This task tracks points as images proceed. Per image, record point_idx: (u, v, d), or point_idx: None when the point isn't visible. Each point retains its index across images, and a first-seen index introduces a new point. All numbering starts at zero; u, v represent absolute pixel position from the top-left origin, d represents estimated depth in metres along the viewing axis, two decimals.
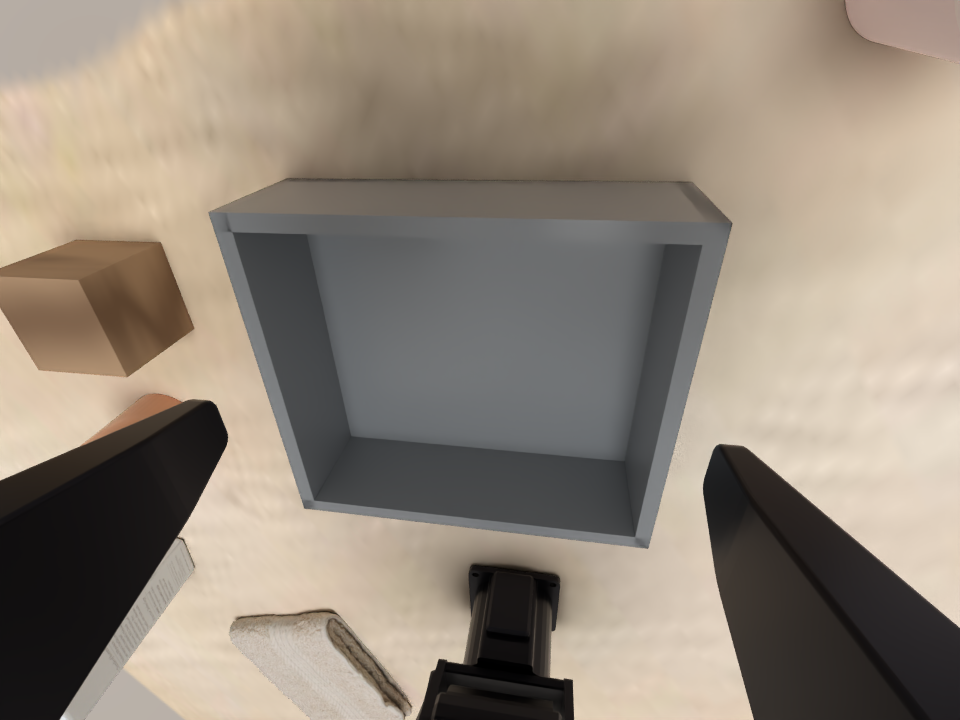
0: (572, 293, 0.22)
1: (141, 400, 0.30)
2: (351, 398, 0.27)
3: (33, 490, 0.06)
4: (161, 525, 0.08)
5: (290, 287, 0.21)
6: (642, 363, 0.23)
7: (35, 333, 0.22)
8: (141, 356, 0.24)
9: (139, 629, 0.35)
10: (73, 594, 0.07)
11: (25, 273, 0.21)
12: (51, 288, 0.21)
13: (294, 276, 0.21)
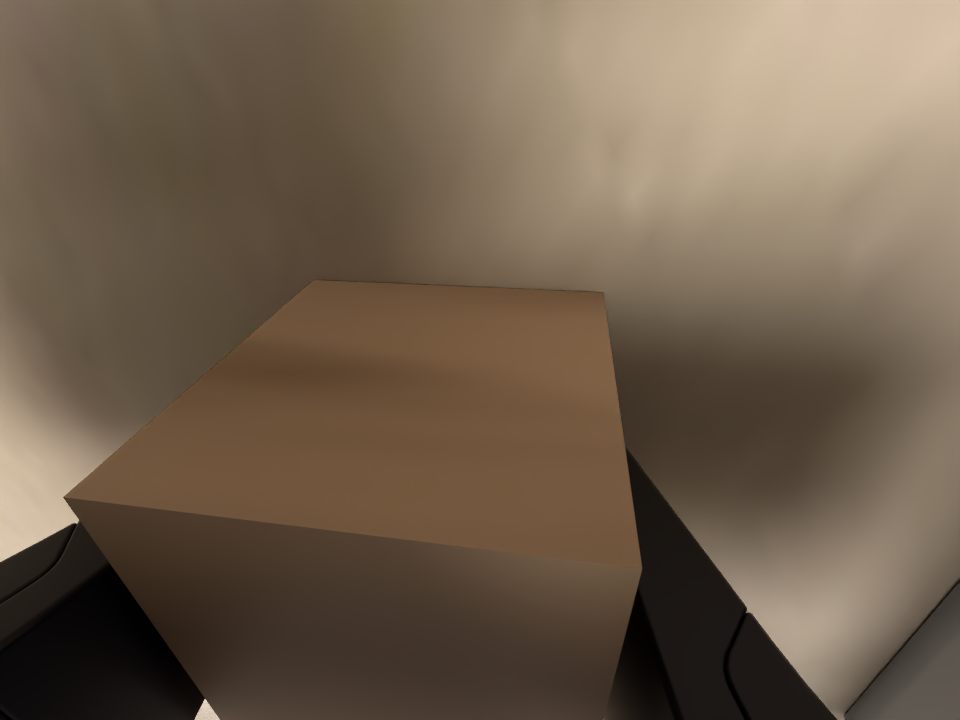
0: None
1: None
2: None
3: None
4: None
5: None
6: None
7: (261, 673, 0.06)
8: None
9: None
10: None
11: (275, 480, 0.04)
12: (432, 576, 0.04)
13: None
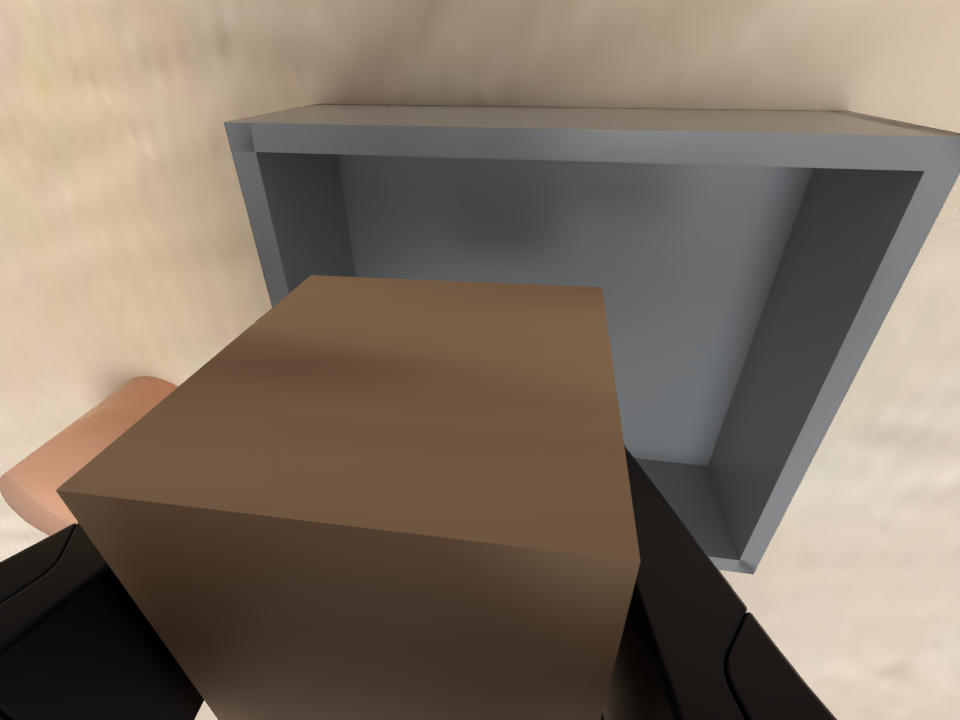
0: (672, 257, 0.17)
1: (129, 383, 0.25)
2: None
3: None
4: None
5: (321, 240, 0.17)
6: (748, 347, 0.19)
7: (256, 670, 0.06)
8: None
9: None
10: None
11: (270, 472, 0.04)
12: (429, 571, 0.04)
13: (326, 227, 0.17)
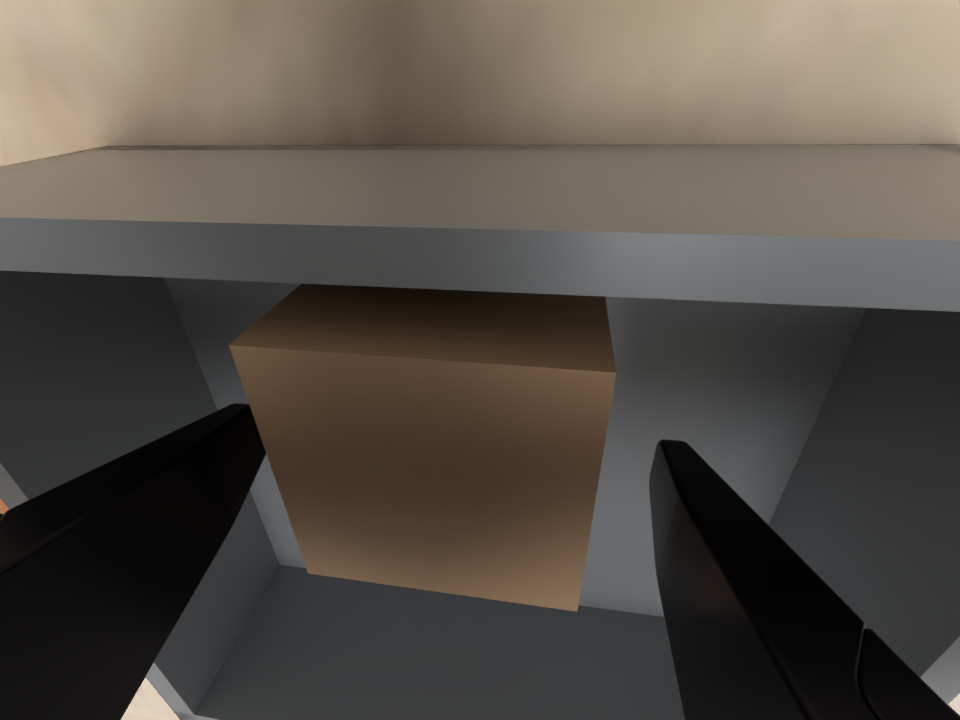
0: (663, 368, 0.11)
1: None
2: (273, 515, 0.17)
3: (91, 497, 0.06)
4: (209, 531, 0.08)
5: (108, 360, 0.11)
6: (783, 489, 0.12)
7: (343, 501, 0.08)
8: None
9: None
10: (128, 603, 0.07)
11: (370, 336, 0.06)
12: (480, 392, 0.06)
13: (119, 338, 0.11)
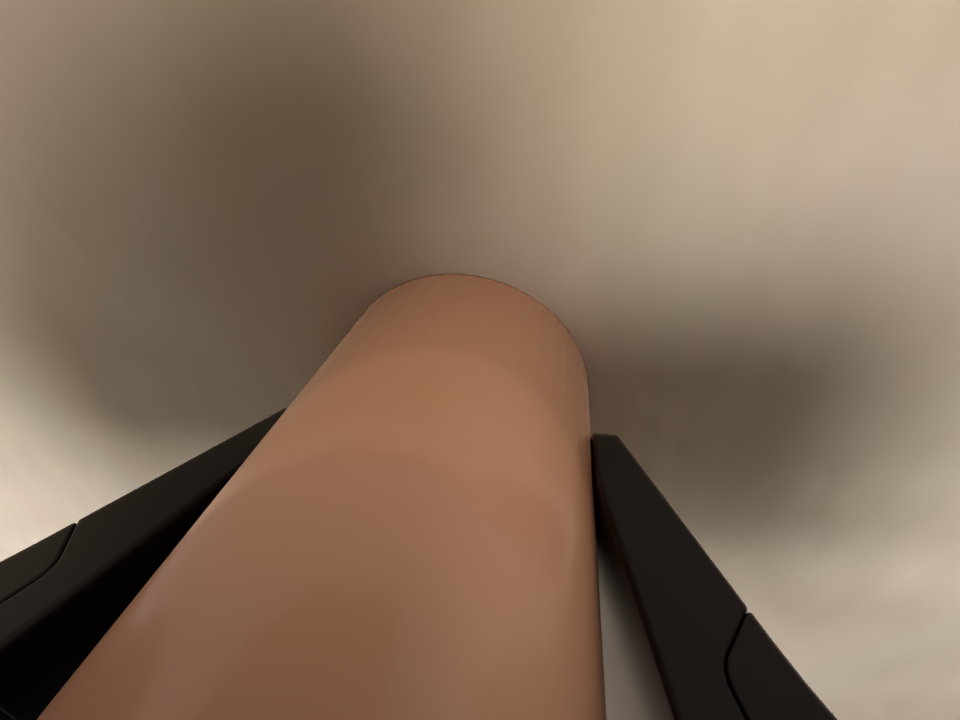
0: None
1: (412, 292, 0.08)
2: None
3: (163, 506, 0.06)
4: None
5: None
6: None
7: None
8: None
9: None
10: None
11: None
12: None
13: None
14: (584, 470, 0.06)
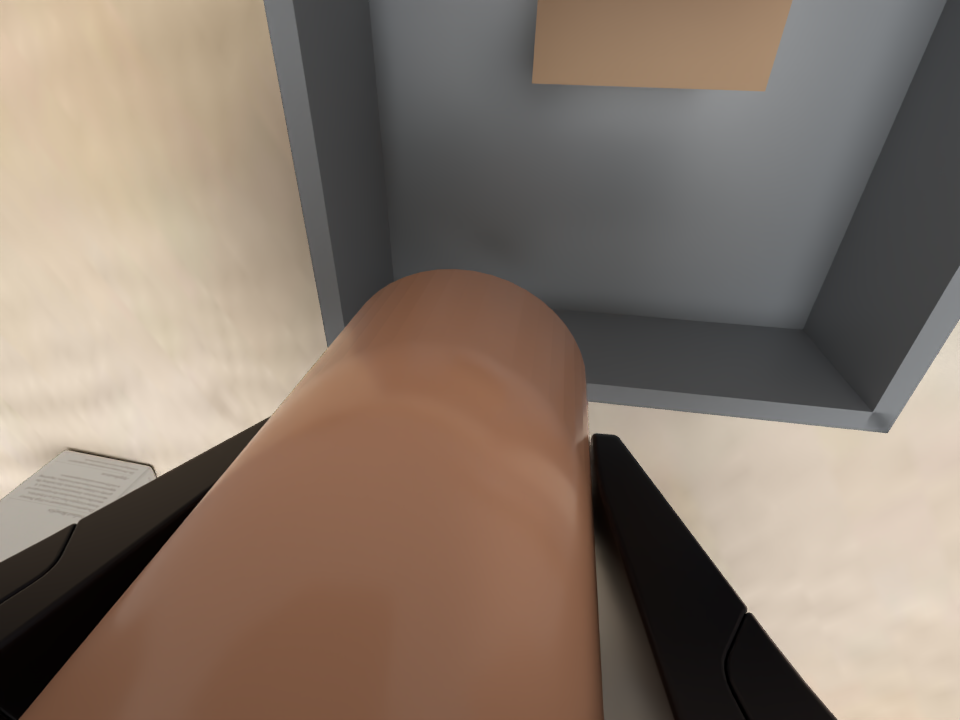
0: (799, 0, 0.13)
1: (409, 287, 0.08)
2: (402, 228, 0.18)
3: (163, 506, 0.06)
4: None
5: None
6: (882, 144, 0.15)
7: None
8: None
9: None
10: None
11: None
12: None
13: None
14: (582, 465, 0.06)
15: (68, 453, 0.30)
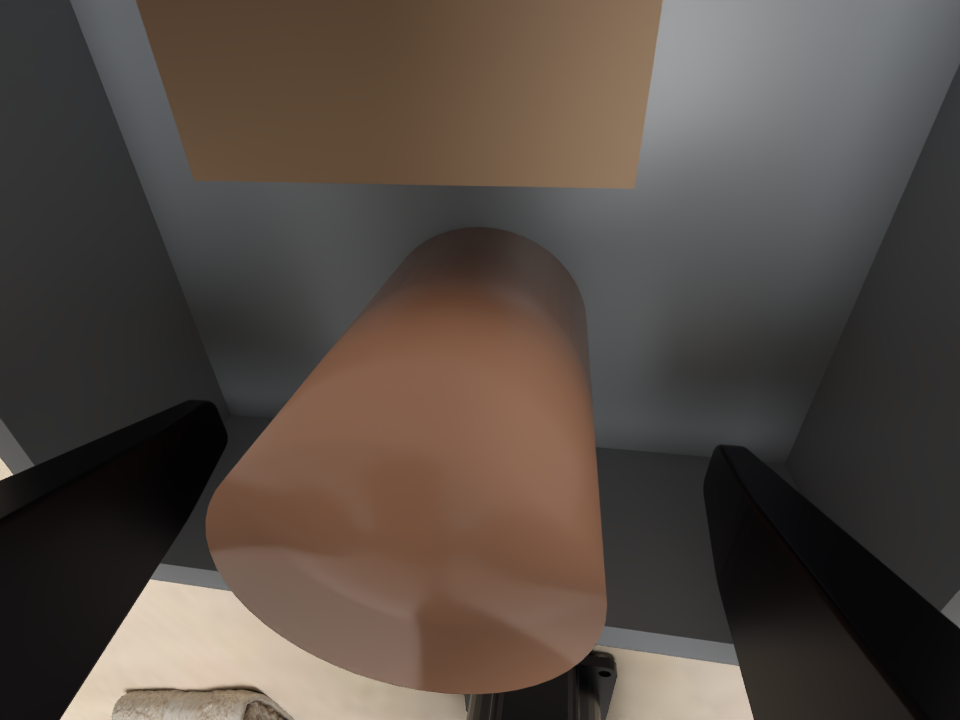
0: None
1: (445, 239, 0.10)
2: (216, 334, 0.13)
3: (33, 490, 0.06)
4: (161, 525, 0.08)
5: None
6: (890, 216, 0.09)
7: None
8: None
9: None
10: (73, 594, 0.07)
11: None
12: None
13: None
14: (584, 364, 0.08)
15: None
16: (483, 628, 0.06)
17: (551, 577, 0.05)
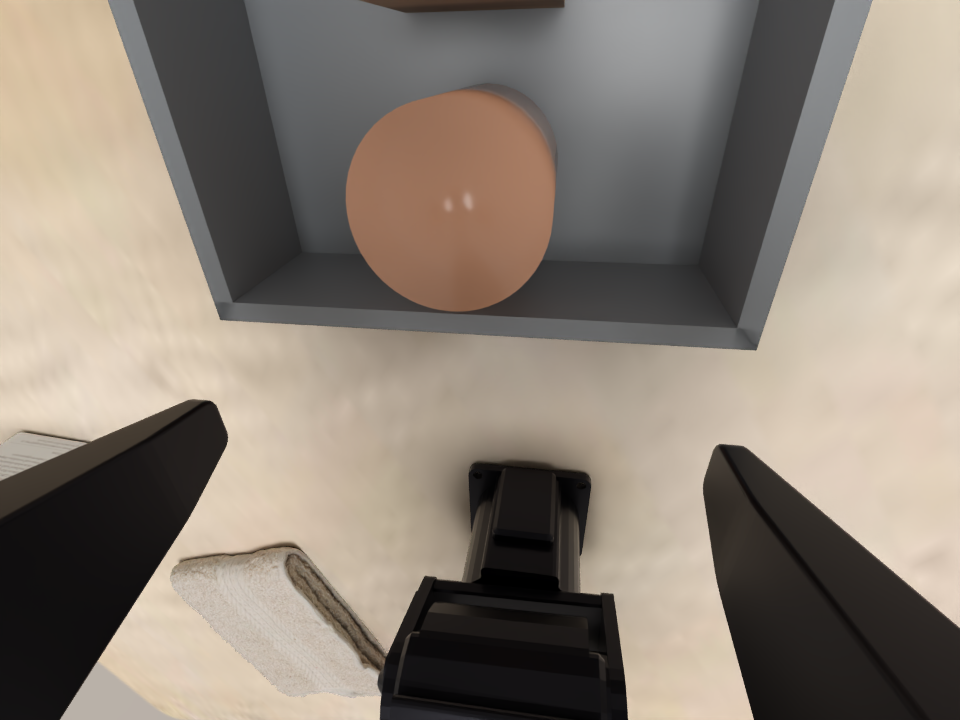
0: None
1: (464, 87, 0.15)
2: (298, 181, 0.19)
3: (33, 490, 0.06)
4: (161, 525, 0.08)
5: None
6: (743, 63, 0.15)
7: None
8: None
9: None
10: (73, 594, 0.07)
11: None
12: None
13: None
14: (550, 145, 0.14)
15: (22, 435, 0.30)
16: (490, 240, 0.11)
17: (525, 186, 0.11)
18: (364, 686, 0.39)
